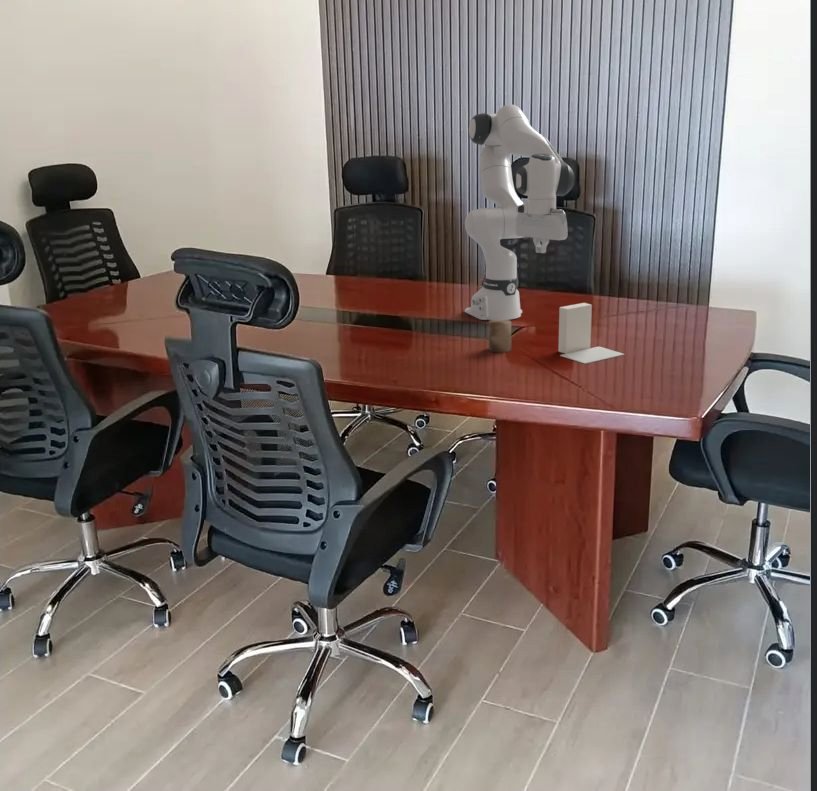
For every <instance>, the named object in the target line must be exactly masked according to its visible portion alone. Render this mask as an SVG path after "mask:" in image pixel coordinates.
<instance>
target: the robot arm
mask: <svg viewBox="0 0 817 791" xmlns="http://www.w3.org/2000/svg"><path fill="white" fill-rule="evenodd" d="M468 133H469V138H470V140H471V141H472V143H474V144H477V145H480V146H483V145H484V147H483V148H482V149H481V154H480V159H479V160H480V162H479V163H480V165H479V167H480V169H479V170H480V179H481V180H480V181H481V190H482V191H481V192H482V195H483V196H484V198H485V199H487V200H488V201H489V202H491V203H493V204H496V207H483V208H482V207H481V208H478V209H477V208H476V209H474V210H470V211H469V212H468V213H467V215H466V218H465V221H464V227H465V228H464V229H465V232H466V233H467V235H468V237H470V238H471V239H472V240H474V241H475V242H476V243H477V245H479V247H480V248H481V250H482V252H483V255H484V262H485V263H484V264H485V277H484V278H482V277H481V282H483V284H482V287H481V288H480V289H479V290H478V291H476V292H475V293H474V294H473V295H472V296H471V301H470V305H471V306H470V307H466V308H465V309H464V313H465V314H468V315H470V316H472V317H475V318H476V319H478V320H481V321H483V320H484V321H487V320H488V321H490V320H494V319H506V320H515V319H518V318H520V317H522V314H523V309H521V302H520V301H521V300H520V292H519V290H518V287H519V278H518V268H517V267H518V261H517V260H518V257H517V255H516V253H515V252H513V251H512V249H508V248H506V247H504V246H502V245H501V240H504V239H505V240H507V239H521V238H532V242H533V244H534V247H535V252H536V253H538V254H539V253H540V254H546V253H547V247H548V245H549V243H550V240H553V241H564V240H566V239H567V238H568V232H569V231H568V221H567V213H566V212H565V211H564V210H563V209H560V208H558V209H557V196H558V197H564V196H566V195H567V194H569V192H571V190H572V189H573V188H574V185H575V174H574V171H573V169H572V168H571V167H570V165H569V164H567V163H566V162H565V161H564V160H563V158H562V157H561V156H560V154H559V153H558V151H557V150H556V149H555V147H554V145H552V143H551V141H549V139H548V138H547V137H546V136H544V135H542V134H541V133H539V132H538V131H537V130H535V129H534V128H533V127H532V124H531V121H530V119H529V118H528V117H527V116H526V114H525V113H524V112H523V110H522V109H521V108H520V107H519V106H517V105H515V104H506V105H503V106H501V108H499V109H498V111H497V112H496V113H485V112H484V113H483V112H482V113H477V114H475V115H474V116H473V117H472V118H471V120H470V124H469V126H468ZM510 154H511V155H513V156H516V157H517V156H519V157H525V158H529V160H528V163H526V164H525V165H521V167H519V169H518V170H517V171H516V172H515V180H513V173H512V172H513V171H512V165H511V164H512V163H511V160H510V159H511V158H510ZM514 181H515V182H514ZM514 183H515V185H514ZM516 191H517V192H518V193H519V194H521V195H522V196H527V202H524V201H522V200H521V198H520V197H519V195H518V194H517V192H516ZM487 200H486V201H487ZM497 206H498V207H497Z"/></svg>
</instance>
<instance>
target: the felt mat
mask: <svg viewBox="0 0 817 791" xmlns="http://www.w3.org/2000/svg"><path fill="white" fill-rule="evenodd" d="M559 356H560V357H563V358H566V359H569V360H572V361H575V362H578V363H581V364H583V365H586V364H593V363H596V362H599V361H604V360H608V359H614V358H617V357H618V358H619V357H623V356H625V353H623V352H619V351H615V350H613V349H609V348H606V347H602V346H594V347H590V349H585V350H580V351H576V352H571V353H567V354H565V353H562V354H560V355H559Z"/></svg>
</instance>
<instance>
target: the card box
mask: <svg viewBox="0 0 817 791" xmlns="http://www.w3.org/2000/svg"><path fill="white" fill-rule="evenodd" d="M592 309H593V304H590V303H587V302H581V303H576V304H569V305H564V306H560V307H559V311H558V313H559V314H558V316H559V317H558V319H559V320H558V350H557V351H558V352H559V353H562V354H567V353H571V352H576V351H580V350H585V349H590V348H591V343H592V342H591V338H592V315H593V314H592V312H593V310H592Z"/></svg>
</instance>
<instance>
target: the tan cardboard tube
mask: <svg viewBox="0 0 817 791" xmlns="http://www.w3.org/2000/svg"><path fill="white" fill-rule="evenodd" d="M488 351H489V352H492V353H497V354H498V353H508V352H509V353H510V351H512V321H511V319H509V320H506V319H494V320H488Z"/></svg>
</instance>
